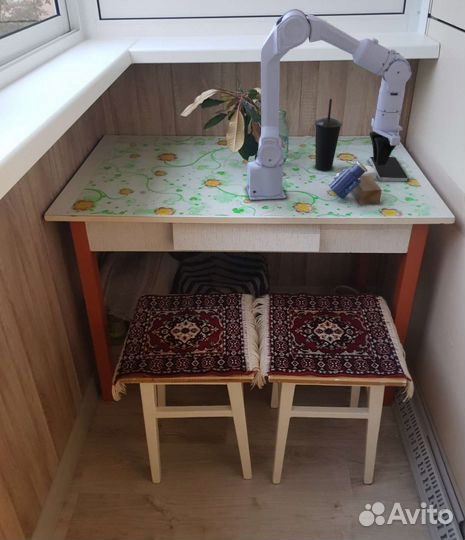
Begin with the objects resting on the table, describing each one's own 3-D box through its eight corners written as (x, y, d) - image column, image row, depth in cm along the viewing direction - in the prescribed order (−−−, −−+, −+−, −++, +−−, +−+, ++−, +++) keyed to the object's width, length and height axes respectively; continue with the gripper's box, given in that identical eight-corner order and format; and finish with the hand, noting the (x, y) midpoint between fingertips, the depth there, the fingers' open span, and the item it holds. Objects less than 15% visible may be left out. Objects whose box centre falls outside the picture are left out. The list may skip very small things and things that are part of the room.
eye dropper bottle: (369, 159, 142) (332, 165, 138) (378, 174, 139) (340, 181, 136) (363, 169, 146) (327, 175, 142) (372, 184, 143) (335, 191, 140)
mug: (332, 206, 129) (337, 169, 123) (325, 194, 135) (329, 158, 129) (368, 204, 130) (374, 167, 124) (359, 192, 136) (365, 157, 130)
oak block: (360, 205, 130) (362, 190, 127) (350, 189, 137) (352, 176, 135) (379, 204, 130) (381, 189, 128) (368, 189, 137) (370, 175, 135)
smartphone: (379, 177, 141) (369, 156, 153) (379, 181, 142) (368, 160, 154) (408, 177, 141) (395, 156, 153) (408, 181, 141) (394, 160, 154)
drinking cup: (329, 175, 145) (336, 105, 134) (305, 168, 149) (311, 100, 137) (341, 166, 150) (349, 98, 139) (318, 160, 154) (325, 93, 142)
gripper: (417, 118, 115) (405, 173, 123) (393, 99, 127) (384, 151, 135) (387, 119, 114) (377, 174, 122) (366, 100, 126) (359, 152, 134)
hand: (379, 162), depth 128 cm, fingers closed
